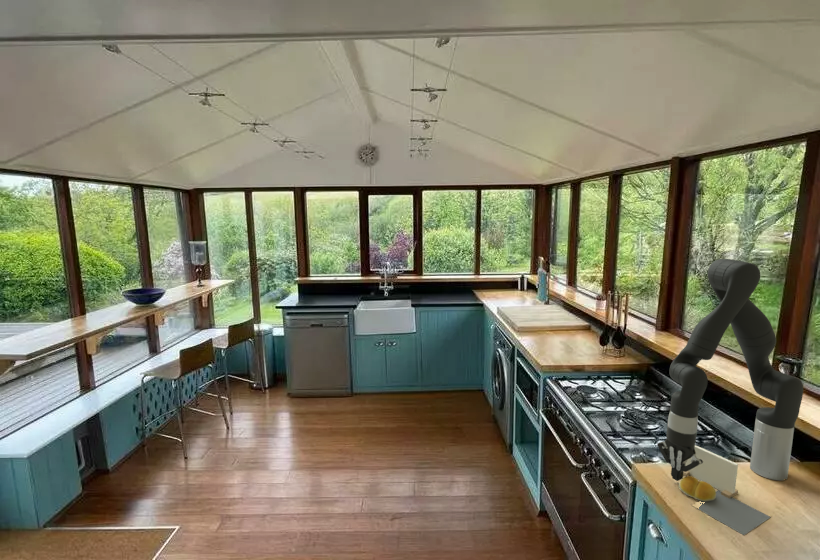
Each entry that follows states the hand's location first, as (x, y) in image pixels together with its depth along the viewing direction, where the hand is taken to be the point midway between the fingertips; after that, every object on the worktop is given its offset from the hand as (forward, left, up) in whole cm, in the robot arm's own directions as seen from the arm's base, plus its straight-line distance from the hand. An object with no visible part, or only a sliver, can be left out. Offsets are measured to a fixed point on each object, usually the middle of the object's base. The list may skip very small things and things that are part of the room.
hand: (676, 479), depth 130 cm
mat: (0, +15, -1) cm, 15 cm away
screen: (-8, +5, -1) cm, 10 cm away
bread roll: (0, +6, -1) cm, 6 cm away
